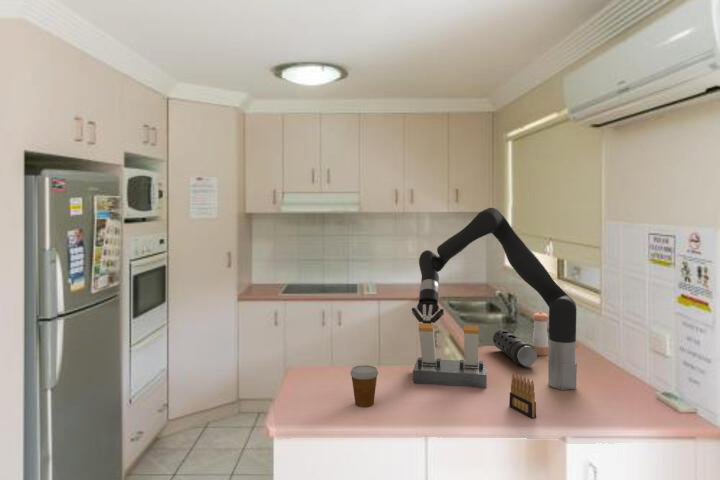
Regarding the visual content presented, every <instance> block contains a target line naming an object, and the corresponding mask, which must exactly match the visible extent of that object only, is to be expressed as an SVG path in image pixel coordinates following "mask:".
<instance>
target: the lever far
mask: <svg viewBox="0 0 720 480" xmlns="http://www.w3.org/2000/svg"><path fill="white" fill-rule="evenodd" d="M434 333H435V331H434V323H431V324H427V323H423V322H419V323H418V334H419V335H418V336H419V342H420V352H421V358H422V364H430V365H436V359H437V357H436V345H435V334H434Z"/></svg>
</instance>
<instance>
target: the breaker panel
mask: <svg viewBox="0 0 720 480" xmlns="http://www.w3.org/2000/svg"><path fill="white" fill-rule="evenodd" d="M412 384H418V385H429V386H430V385H433V386H447V387H463V388H477V389H487V385H488V384H487V362H486V361H483V360H478V367H464V359H459V360H458V359H457V360H456V359H454V360H453V359H441V358H439V357H438V358H437V357H436V365H430V364H422V356H420V357H418V358H417V359H416V361H415V363H414V367H413V369H412Z"/></svg>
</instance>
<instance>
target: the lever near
mask: <svg viewBox="0 0 720 480" xmlns="http://www.w3.org/2000/svg"><path fill="white" fill-rule="evenodd" d="M479 327H480V326H479V325H466V324H465V325H463V339H464V340H463V344H464V348H463V350H464V351H463V352H464V354H463V355H464V356H463V357H464V359H463V360H464V367H478V362H479V333H480V329H479Z"/></svg>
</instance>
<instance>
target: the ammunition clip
mask: <svg viewBox="0 0 720 480" xmlns="http://www.w3.org/2000/svg"><path fill="white" fill-rule="evenodd" d="M510 383H511V384H510V392H509V404H508V405H509V406H508V407H509V408H510V409H512V410H514V411H516V412H517V413H520V414H522V415H523V416H526V417H527V418H529V419H531V420H533V419H537V404H536V403H537V402H536V393H535V382H534V380H531V381H530V378H527V379H526V376H524V377H523V375H520V376H519V374H518V373H515V371H512V374H511V382H510Z"/></svg>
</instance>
